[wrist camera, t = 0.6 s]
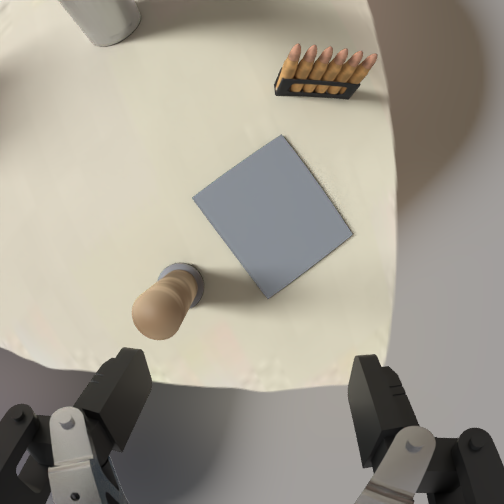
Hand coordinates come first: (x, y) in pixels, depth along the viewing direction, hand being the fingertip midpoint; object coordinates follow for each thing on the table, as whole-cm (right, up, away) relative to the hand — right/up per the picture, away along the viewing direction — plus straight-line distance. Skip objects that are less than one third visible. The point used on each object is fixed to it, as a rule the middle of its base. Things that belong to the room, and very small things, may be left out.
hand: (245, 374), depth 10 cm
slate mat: (+3, +9, +27) cm, 29 cm away
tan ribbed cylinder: (-9, 0, +27) cm, 29 cm away
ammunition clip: (+9, +27, +26) cm, 38 cm away
